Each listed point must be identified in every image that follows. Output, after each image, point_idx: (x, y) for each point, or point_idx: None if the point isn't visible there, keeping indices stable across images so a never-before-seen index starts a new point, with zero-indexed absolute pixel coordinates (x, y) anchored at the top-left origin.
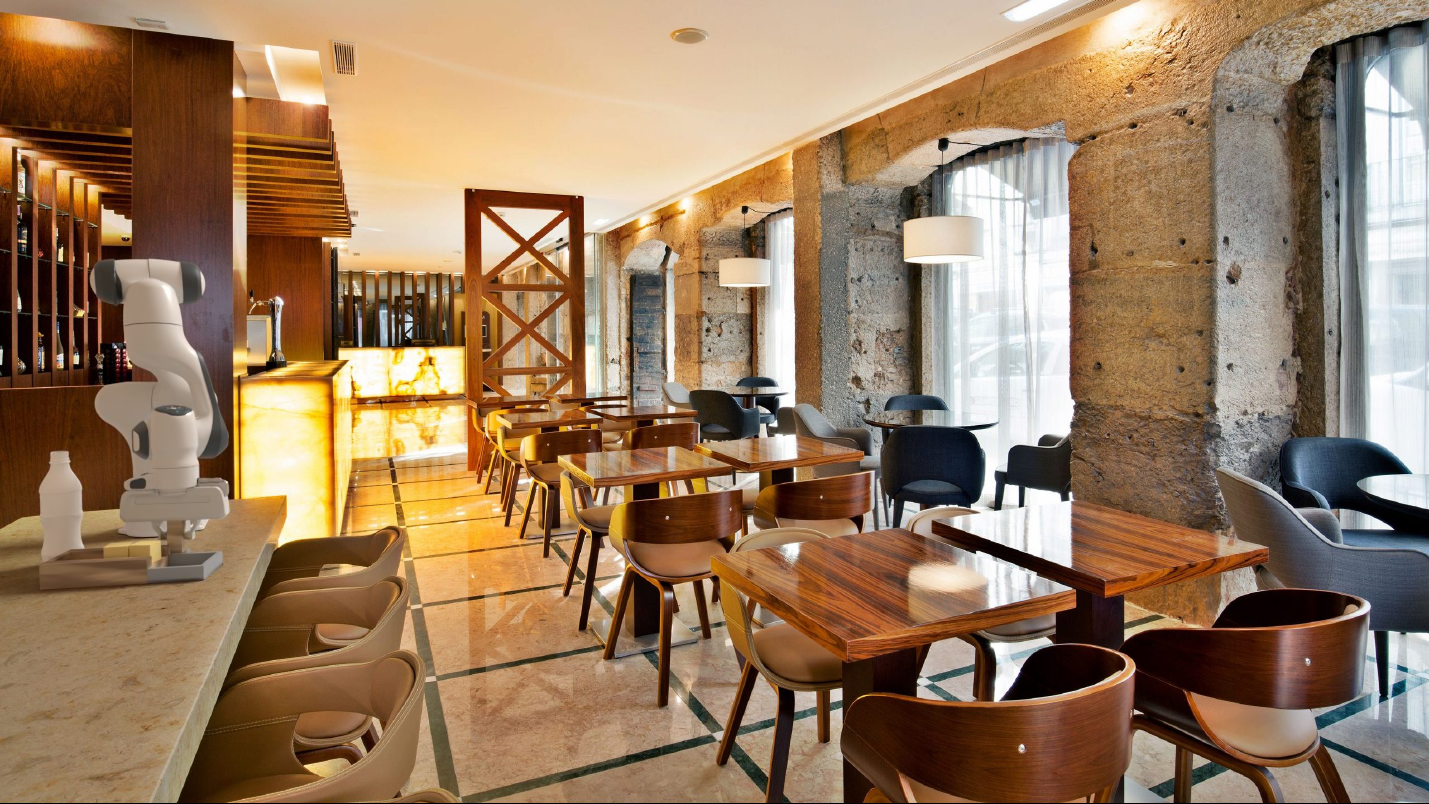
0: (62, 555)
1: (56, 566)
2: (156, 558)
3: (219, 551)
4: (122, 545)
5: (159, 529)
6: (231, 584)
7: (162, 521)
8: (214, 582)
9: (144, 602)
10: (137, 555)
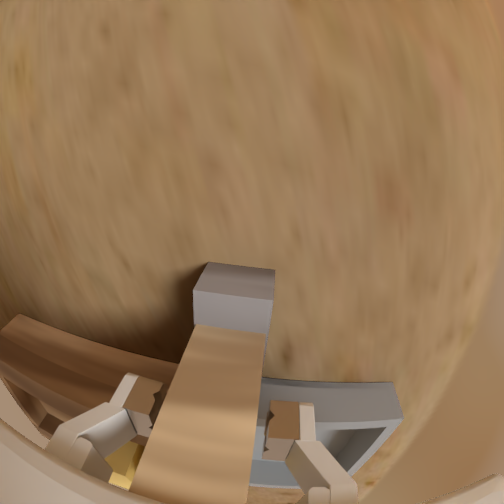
0: (15, 397)
1: None
2: None
3: (395, 421)
4: (128, 487)
5: (116, 443)
6: (377, 471)
7: (87, 457)
8: None
9: (260, 494)
10: None
